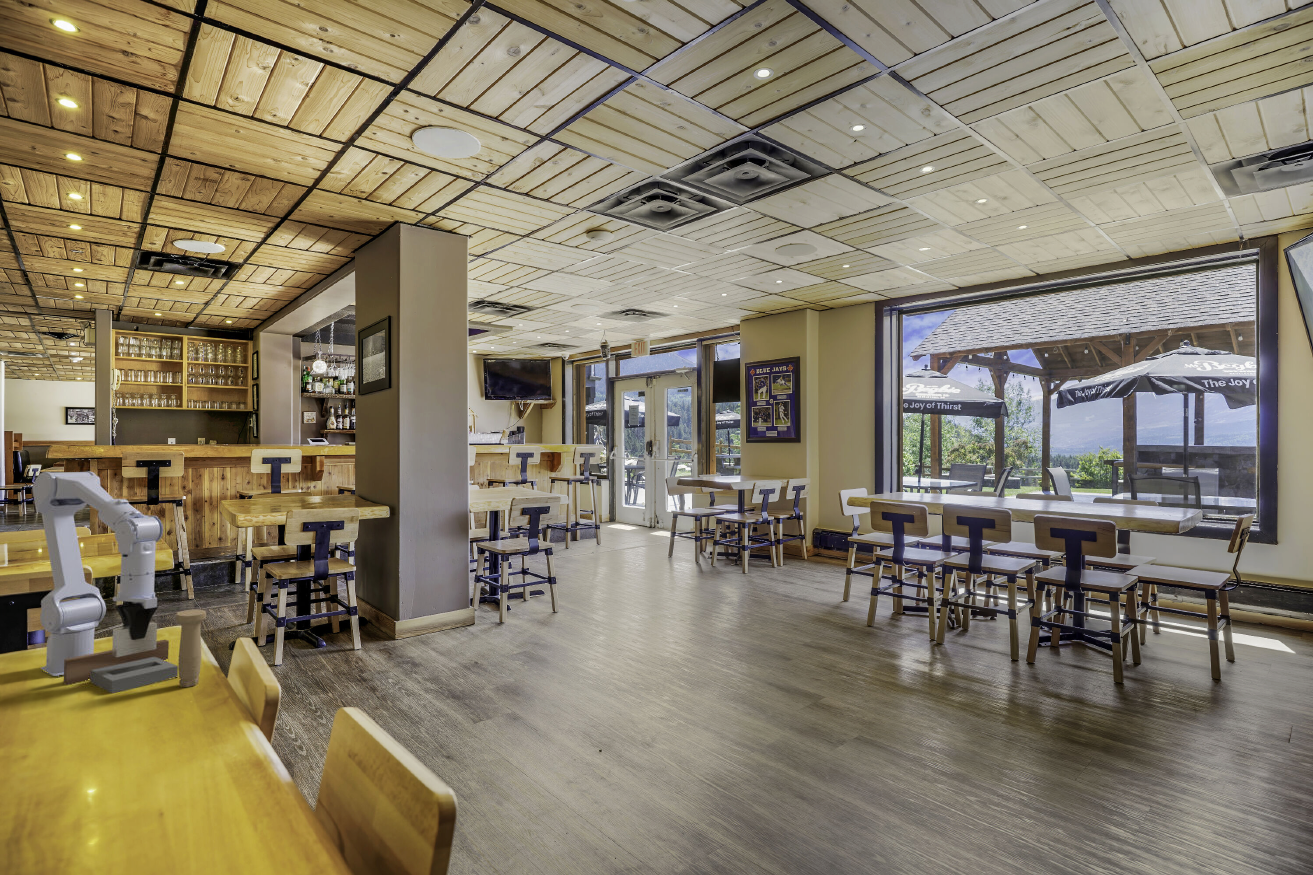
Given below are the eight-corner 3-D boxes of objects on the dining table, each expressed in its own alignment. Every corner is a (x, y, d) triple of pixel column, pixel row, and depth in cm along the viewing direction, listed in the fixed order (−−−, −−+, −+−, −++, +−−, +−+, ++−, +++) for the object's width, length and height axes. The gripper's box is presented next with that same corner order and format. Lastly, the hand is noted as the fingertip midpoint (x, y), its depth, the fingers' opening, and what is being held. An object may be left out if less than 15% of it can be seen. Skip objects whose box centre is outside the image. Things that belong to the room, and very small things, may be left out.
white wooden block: (112, 655, 137) (113, 628, 138) (151, 647, 143) (152, 621, 143) (116, 657, 136) (117, 630, 136) (156, 648, 142) (156, 623, 142)
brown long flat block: (63, 683, 137) (64, 658, 137) (164, 661, 152) (165, 639, 153) (66, 684, 136) (67, 660, 136) (168, 662, 151) (168, 640, 151)
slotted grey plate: (90, 682, 138) (90, 670, 138) (154, 667, 148) (154, 656, 148) (111, 693, 132) (112, 680, 132) (177, 677, 141) (177, 665, 141)
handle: (179, 691, 133) (182, 617, 133) (170, 684, 137) (172, 612, 138) (207, 685, 137) (210, 613, 137) (197, 678, 141) (199, 608, 141)
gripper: (101, 572, 141) (99, 636, 140) (128, 580, 133) (126, 647, 133) (140, 568, 147) (138, 629, 146) (169, 575, 139) (167, 639, 139)
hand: (135, 637), depth 140 cm, fingers closed on white wooden block, 2 cm apart
